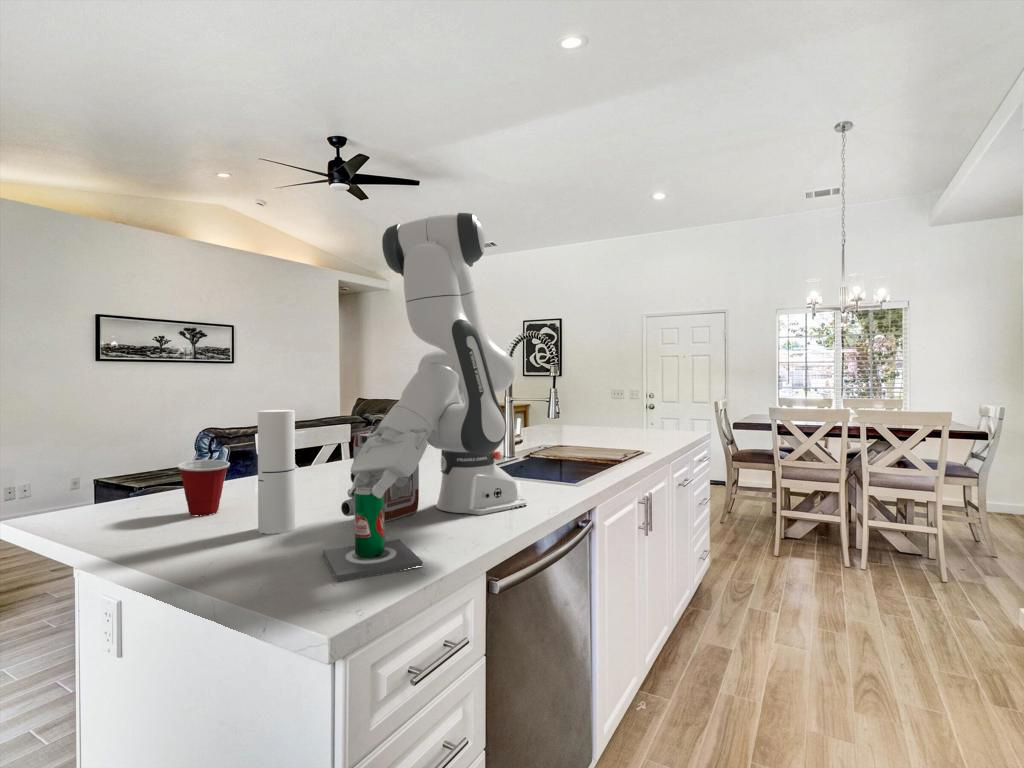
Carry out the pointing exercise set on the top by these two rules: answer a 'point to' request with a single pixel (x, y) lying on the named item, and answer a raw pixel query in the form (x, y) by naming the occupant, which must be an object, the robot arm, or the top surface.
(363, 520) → the soda can
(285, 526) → the cylindrical container
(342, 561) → the mount plate
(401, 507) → the cine camera
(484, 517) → the top surface
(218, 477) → the plastic cup
